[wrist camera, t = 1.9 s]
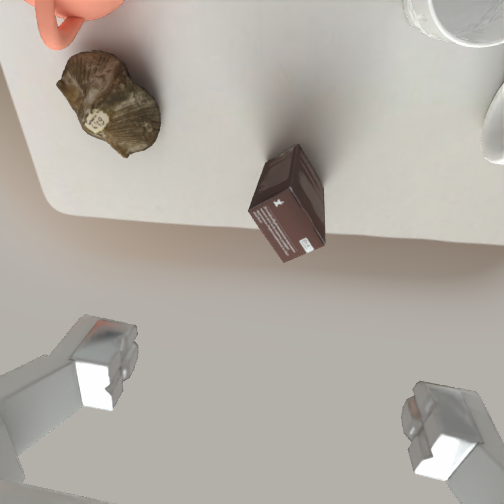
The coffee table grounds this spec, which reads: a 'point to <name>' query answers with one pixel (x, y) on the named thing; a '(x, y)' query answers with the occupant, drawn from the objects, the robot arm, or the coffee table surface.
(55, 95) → the coffee table surface
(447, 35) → the white cup
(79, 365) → the robot arm
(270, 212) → the box
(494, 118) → the mug
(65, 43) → the teapot
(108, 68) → the fossilized seashell
